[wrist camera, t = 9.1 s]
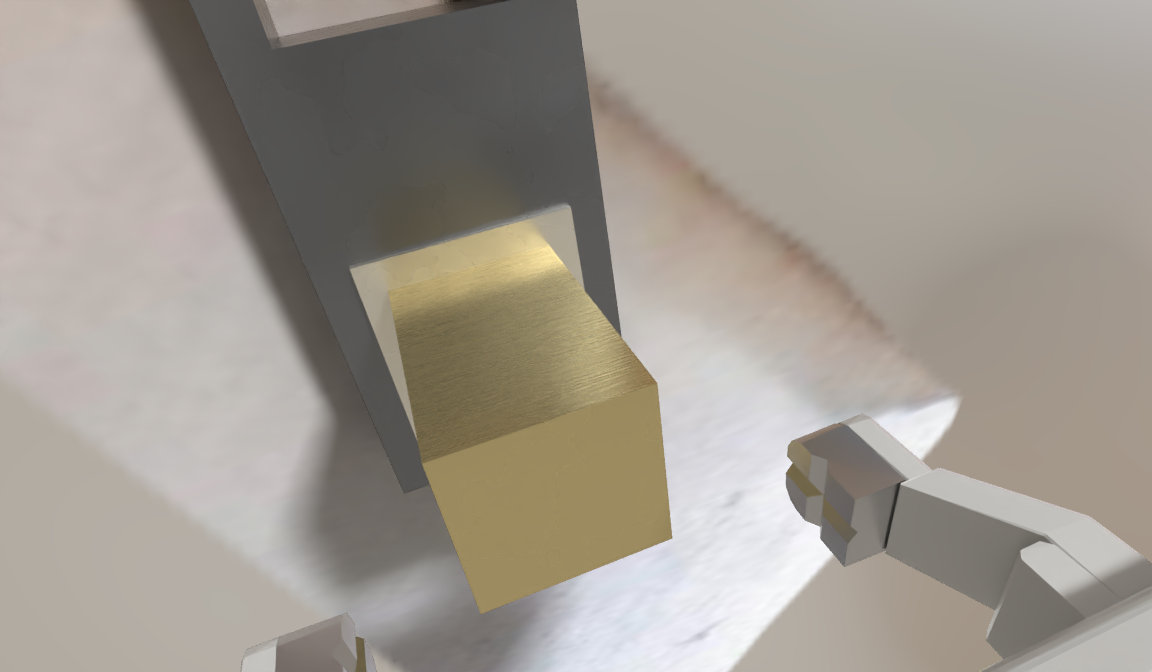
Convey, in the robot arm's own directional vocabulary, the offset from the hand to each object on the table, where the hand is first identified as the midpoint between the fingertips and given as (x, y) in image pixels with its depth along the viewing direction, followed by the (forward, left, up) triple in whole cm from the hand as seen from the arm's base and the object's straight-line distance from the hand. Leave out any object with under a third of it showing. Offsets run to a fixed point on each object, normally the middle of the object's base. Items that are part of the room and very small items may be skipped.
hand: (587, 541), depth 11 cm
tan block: (+1, 0, -9) cm, 9 cm away
